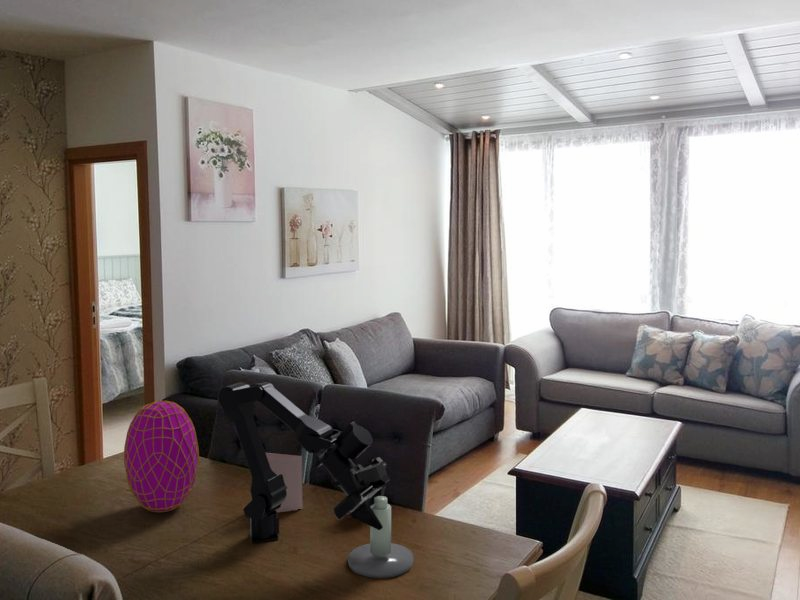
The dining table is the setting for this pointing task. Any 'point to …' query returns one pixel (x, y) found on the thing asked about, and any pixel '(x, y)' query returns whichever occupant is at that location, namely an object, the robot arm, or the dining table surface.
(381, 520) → the pale green bottle
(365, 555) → the gray round disc
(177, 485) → the decorative egg
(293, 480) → the greeting card
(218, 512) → the dining table surface
